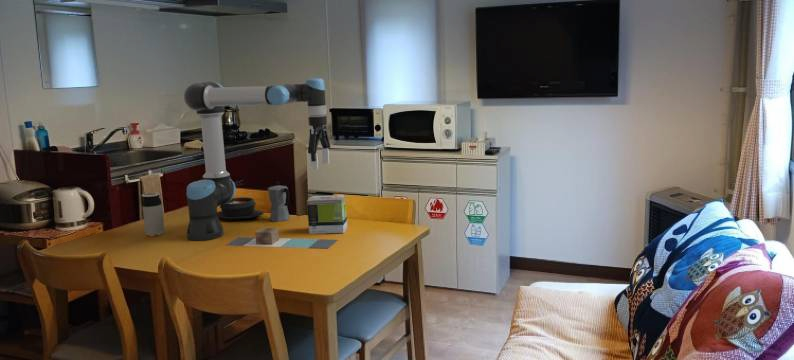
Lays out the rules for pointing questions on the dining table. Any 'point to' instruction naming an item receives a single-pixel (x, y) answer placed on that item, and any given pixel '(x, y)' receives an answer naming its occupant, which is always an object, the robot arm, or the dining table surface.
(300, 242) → the pad
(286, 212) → the coffeepot
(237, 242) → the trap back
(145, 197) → the travel mug
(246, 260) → the dining table surface
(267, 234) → the walnut block
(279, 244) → the tile
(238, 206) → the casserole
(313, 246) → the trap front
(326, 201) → the tea box
